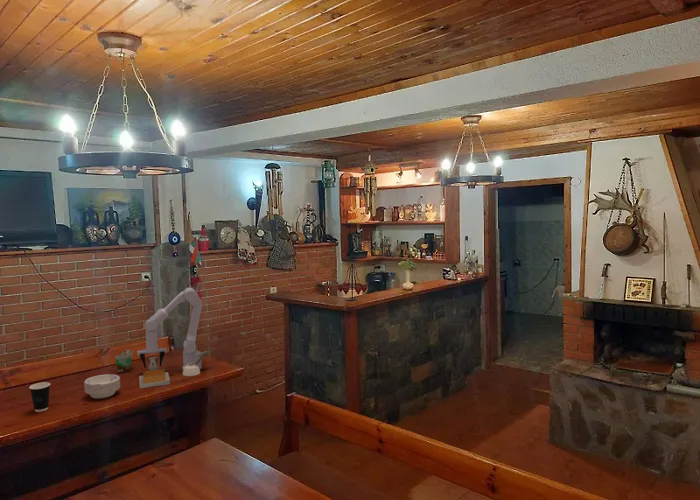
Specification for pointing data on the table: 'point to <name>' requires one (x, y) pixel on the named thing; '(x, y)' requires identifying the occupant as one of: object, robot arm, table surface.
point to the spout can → (152, 363)
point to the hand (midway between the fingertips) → (152, 366)
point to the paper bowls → (102, 385)
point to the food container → (124, 361)
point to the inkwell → (194, 365)
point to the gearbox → (154, 378)
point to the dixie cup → (40, 396)
